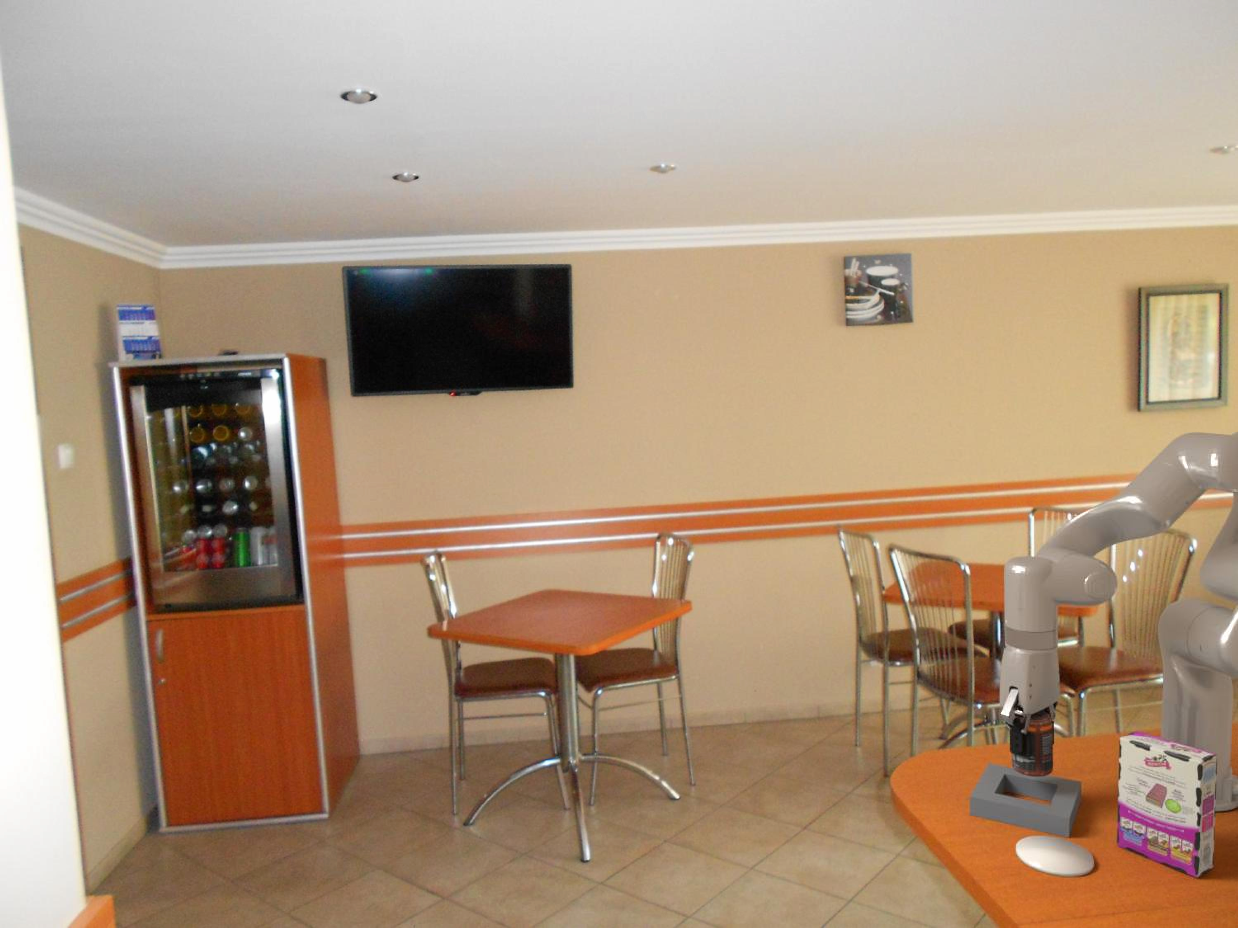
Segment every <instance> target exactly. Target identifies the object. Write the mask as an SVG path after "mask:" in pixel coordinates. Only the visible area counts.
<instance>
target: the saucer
mask: <svg viewBox="0 0 1238 928" xmlns="http://www.w3.org/2000/svg"><path fill="white" fill-rule="evenodd" d="M1015 854H1016V857H1017V858H1018V860H1020V861H1021V862H1022V863H1023V864H1025V865H1026V866H1027V867H1030V868H1031V869H1034V870H1036V871H1037V872H1041V873H1044V874H1047V875H1052V876H1056V877H1063V878H1065V877H1067V878H1068V877H1069V878H1074V877H1081V876H1085V875H1088V874H1089V873H1091V872H1092V871H1093V870H1094V867H1095V860H1094V856H1093V855H1092V853H1090V851H1088V849H1086V848H1085V847H1083V846H1081V845H1079V844H1078V843H1076V842H1073V841H1071V840H1067V839H1065V838H1061V837H1057V836H1050V835H1031V836H1030V835H1029V836H1026V837H1023V838H1021V839H1019V840H1018V841H1017V842H1016V845H1015Z"/></svg>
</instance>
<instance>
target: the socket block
mask: <svg viewBox="0 0 1238 928" xmlns="http://www.w3.org/2000/svg"><path fill="white" fill-rule="evenodd" d="M1005 792H1006V793H1011V794H1016V795H1020V796H1025V797H1028V798H1034V799H1038V800H1042V801H1046V802H1051V803H1050V804H1046V803H1042V802H1038V801H1037V802H1036V801H1033V800H1028V799H1024V798H1018V797H1014V796H1010V795H1006V794H1004V793H1005ZM1081 801H1082V781H1079V780H1075V779H1069V778H1064V777H1060V776H1056V775H1050V774H1049V775H1046V776H1042V777H1035V776H1034V777H1033V776H1027V775H1024V774H1021V773H1019V772H1017V771H1016V770H1014V768H1013V767H1011V766H1004V765H1000V764H995V763H988V764H987V766H986V768H985V769H984V771H983V773H982V775H981V777H980V778H979V780H978V782H977V783H976V785H975V787H974V789H973V790H972V792H971V794H970V796H969V815H970V816H974V817H978V818H983V819H986V820H991V821H995V822H999V823H1004V824H1007V825H1013V826H1017V827H1020V828H1025V829H1029V830H1034V831H1039V832H1043V833H1045V834H1046V833H1047V834H1049V835H1050V834H1052V835H1055V836H1060V837H1064V838H1070V835H1071V833H1072V829H1073V826H1074V823H1075V820H1076V817H1077V813H1078V811H1079V808H1080V805H1081Z"/></svg>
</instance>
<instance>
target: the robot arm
mask: <svg viewBox="0 0 1238 928" xmlns="http://www.w3.org/2000/svg"><path fill="white" fill-rule="evenodd" d="M1209 490H1212V491H1219V492H1225V493H1230V494H1231V493H1232V495H1233V496H1232V498H1233V500H1232V506H1231V509H1230V512H1229V514H1228V516H1227V517H1226V519H1225V522H1224V524H1223V525H1222V527H1221V529H1220V531H1219V532H1218V533H1217V536H1216V537H1215V539H1214V541H1213V543H1212V544H1211V546H1210V548H1209V550H1208V552H1207V554H1206V556H1205V557H1204V559H1203V561H1202V563H1201V565H1200V569H1199V572H1198V573H1199V574H1198V575H1199V576H1198V578H1199V581H1200V584H1201V585H1202V587H1203V588H1204V590H1206V591H1207V592H1209V593H1210V594H1211V595H1214V596H1215V597H1218V598H1221V599H1223V600H1226V601H1229V602H1232V603H1235V604H1237V605H1236V607H1235V608H1234V610H1232V609H1230V608H1229V607H1225V606H1221V605H1219V604H1215V603H1213V602H1210V601H1206V600H1203V599H1197V598H1183V599H1178V600H1175V601H1173V602H1171V603H1170V604H1169V605H1167V606H1166V607H1165V608H1164V609H1163V611H1162V613H1161V615H1160V616H1159V620H1158V625H1157V636H1158V643H1159V644H1158V645H1159V649H1160V654H1161V659H1162V660H1161V661H1162V663H1161V664H1162V681H1163V682H1162V696H1161V697H1162V698H1161V702H1162V703H1161V723H1160V724H1161V725H1160V726H1161V727H1160V738H1163V739H1167V740H1170V741H1174V742H1177V743H1181V744H1184V745H1187V746H1191V747H1194V748H1198V749H1201V750H1204V751H1208V752H1211V753H1215V754H1217V777H1216V805H1215V812H1226V811H1230V810H1233V809H1236V808H1238V776H1237V775H1235V774H1234V775H1233V767H1232V766H1231V756H1232V755H1231V754H1232V753H1231V752H1232V735H1233V734H1232V733H1233V732H1232V731H1233V730H1232V729H1233V712H1234V711H1233V707H1234V686H1233V681H1232V678H1233V679H1238V431H1236V432H1234V433H1233V434H1221V433H1211V432H1210V433H1209V432H1199V431H1198V432H1197V431H1195V432H1188V433H1184V434H1183V433H1182V434H1181V435H1179V436H1177V437H1176V438H1175V439H1172V441H1171V442H1169V443H1168V444H1167V446H1165V447H1164V449H1162V450H1161V452H1160V453H1158V455H1156V456H1155V457H1154V458H1153V460H1151V462H1150V463H1148V464H1147V466H1145V468H1143V469H1142V470H1141V472H1139V473H1138V474H1137V475H1136V477H1134V478H1133V479H1132V481H1130V482H1129V483H1128V484H1127V485H1126V487H1124V488H1123V489H1122V490H1121V491H1120V492H1119V493H1118V494H1117V495H1115V496H1113V497H1111V498H1109V499H1107V500H1104V501H1102V502H1101V503H1098V504H1097V505H1095V506H1093V507H1091V508H1089V509H1086V510H1085V511H1083V512H1081V513H1079V514H1078V515H1076V516H1074V517H1073V518H1071V519H1070V520H1068V521H1066V523H1064V524H1063V525H1062V526H1060V527H1059V528H1058V529H1057V530H1056V532H1054V533H1053V535H1051V536H1050V537H1049V538H1048V539H1047V541H1046V542H1044V543H1043V544H1042V546H1041V547H1040V548H1039V549H1038V551H1037V552H1036V554H1035V555H1034V556H1032V555H1031V556H1028V555H1027V556H1016V557H1013V558H1010V559H1008V560H1007V561H1006V562H1005V565H1004V566H1003V567H1004V568H1003V569H1004V570H1003V572H1004V573H1003V581H1004V582H1003V587H1004V590H1003V591H1004V592H1003V593H1004V595H1003V596H1004V598H1003V599H1004V603H1003V604H1004V645H1005V647H1004V649H1003V652H1002V653H1003V654H1002V658H1001V666H1000V678H999V679H1000V680H999V706H1000V708H1001V709H1002V710H1001V713H1000V716H1001V718H1002V720H1003V721H1004V722H1005V724H1006V725H1007V729H1008V730H1009V752H1010V753H1011V755H1012V754H1015V755H1019V756H1022V757H1025V758H1030V757H1031V733H1029V732H1028V729H1029V724H1030V719H1031V715H1032V714H1034V713H1036V712H1038V711H1040V710H1042V709H1044V708H1046V709H1045V712H1046V713H1047V714H1049V715H1050V717H1051V719H1052V729H1053V731H1052V732H1053V745H1054V744H1055V721H1054V720H1056V711H1055V710H1056V708H1057V706H1058V700H1059V698H1060V695H1061V694H1062V693H1061V691H1062V689H1061V688H1060V684H1061V683H1060V667H1059V666H1060V664H1059V655H1058V649H1059V633H1058V632H1059V631H1058V630H1059V624H1058V623H1059V622H1058V621H1059V617H1058V615H1059V613H1058V612H1059V606H1074V607H1095V606H1096V607H1097V606H1099V605H1103V604H1104V603H1105V604H1106V603H1107V602H1108V601H1109V600H1111V599H1112V598H1113V596H1114V595H1115V593H1116V592H1117V589H1118V577H1117V575H1116V573H1115V571H1114V569H1113V568H1112V567H1111V566H1110V565H1108V564H1107V563H1106V562H1105V561H1103V560H1101V559H1098V558H1096V557H1095V556H1096V555H1097V554H1098V553H1101V552H1102V551H1104V550H1105V549H1107V548H1109V547H1112V546H1115V545H1117V544H1120V543H1123V542H1127V541H1132V540H1139V539H1144V538H1150V537H1153V536H1157V535H1160V534H1163V533H1165V532H1167V531H1168V530H1169V529H1170V528H1171V527H1172V526H1173V525H1174V524H1175V523H1176V522H1177V521H1178V520H1179V519H1180V518H1181V517H1182V516H1183V515H1184V514H1185V513H1186V512H1187V511H1188V510H1189V509H1190V508H1191V507H1192V506H1193V505H1194V504H1195V503H1196V502H1197V501H1198V500H1199V499H1200V498H1201V497H1202V496H1203V495H1204V494H1205V493H1207V491H1209ZM1018 706H1019V707H1022V708H1023V711H1019V710H1017V709H1018V708H1017V707H1018ZM1017 714H1018V715H1022V716H1024V717H1023V722H1021V721H1020V720H1019V719H1018V718H1016V717H1017Z"/></svg>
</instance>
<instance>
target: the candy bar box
mask: <svg viewBox="0 0 1238 928" xmlns="http://www.w3.org/2000/svg"><path fill="white" fill-rule="evenodd" d="M1118 744H1119V745H1118V746H1119V748H1118V749H1119V750H1118V785H1117V786H1118V787H1117V788H1118V789H1117V790H1118V791H1117V819H1116V820H1117V822H1116V825H1117V828H1116V846H1117V847H1118V848H1121V849H1123V850H1127V851H1129V852H1131V853H1134V854H1136V855H1139V856H1140V857H1144V858H1146V859H1147V860H1150V861H1153V862H1156V863H1159V864H1161V865H1164V866H1166V867H1168V868H1171V869H1174V870H1176V871H1179V872H1180V873H1184V874H1186V875H1189V876H1191V877H1194V878H1197V879H1198V878H1200V877H1201V876H1203V875H1204V874H1207V872H1209V871H1211V870H1212V869H1213V868H1214V863H1215V860H1214V859H1215V835H1216V834H1215V831H1216V829H1215V828H1216V811H1215V805H1216V777H1217V754H1215V753H1211V752H1208V751H1204V750H1201V749H1198V748H1194V747H1191V746H1187V745H1184V744H1181V743H1177V742H1174V741H1170V740H1167V739H1163V738H1161V736H1160V737H1159V736H1156V735H1153V734H1150V733H1149V734H1148V733H1145V732H1142V731H1138V730H1135V731H1132V732H1130V733H1128V734H1126V735H1123V736H1121V737H1119V743H1118Z"/></svg>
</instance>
